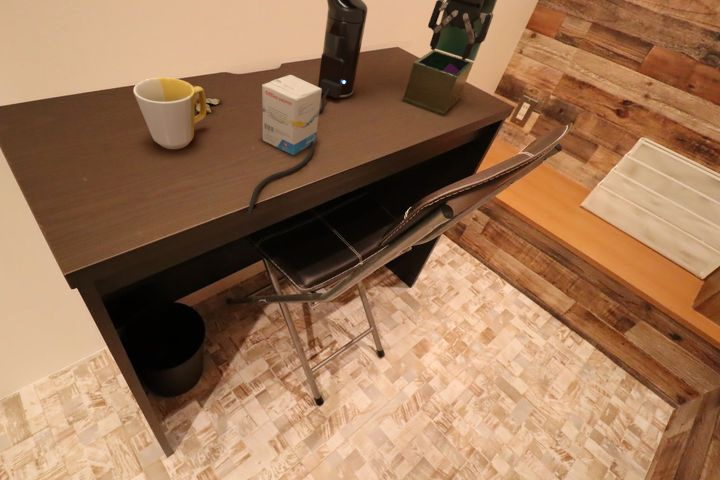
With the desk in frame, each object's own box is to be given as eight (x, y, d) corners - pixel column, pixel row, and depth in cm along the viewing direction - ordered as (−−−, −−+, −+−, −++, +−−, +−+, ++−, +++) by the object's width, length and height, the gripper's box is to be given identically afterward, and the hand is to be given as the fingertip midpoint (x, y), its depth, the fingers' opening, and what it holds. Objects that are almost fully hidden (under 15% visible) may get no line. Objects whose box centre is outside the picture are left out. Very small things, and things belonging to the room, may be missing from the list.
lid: (499, -7, 85) (505, -14, 87) (451, -19, 88) (458, -26, 90) (473, 61, 98) (479, 53, 100) (433, 48, 101) (440, 41, 103)
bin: (442, 115, 96) (457, 76, 89) (402, 100, 100) (413, 62, 92) (458, 99, 106) (473, 62, 98) (421, 85, 109) (433, 49, 102)
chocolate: (439, 100, 101) (444, 91, 97) (427, 90, 101) (431, 81, 98) (457, 81, 102) (462, 72, 99) (445, 72, 103) (449, 62, 99)
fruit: (206, 116, 81) (205, 99, 78) (171, 108, 82) (168, 91, 79) (221, 101, 87) (220, 85, 84) (189, 93, 87) (186, 77, 84)
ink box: (316, 142, 79) (323, 87, 71) (292, 156, 74) (296, 99, 66) (286, 127, 82) (289, 72, 74) (261, 140, 77) (261, 83, 69)
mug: (162, 161, 68) (150, 106, 60) (137, 137, 72) (122, 83, 64) (225, 142, 75) (221, 90, 67) (199, 121, 79) (192, 70, 72)
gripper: (441, -31, 82) (418, 49, 94) (502, -15, 78) (470, 66, 90) (451, -33, 86) (428, 43, 98) (510, -18, 82) (478, 59, 94)
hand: (448, 54), depth 94 cm, fingers open, 8 cm apart
